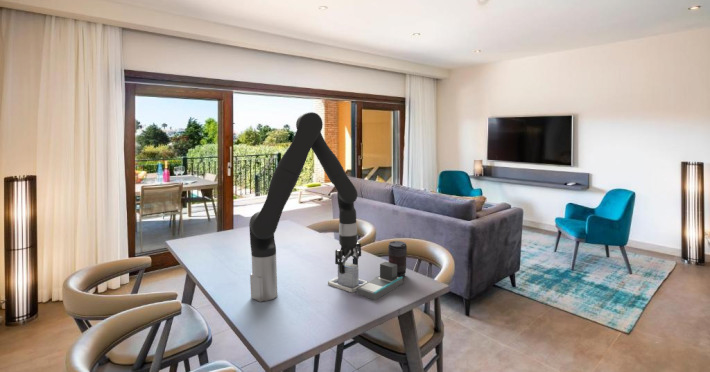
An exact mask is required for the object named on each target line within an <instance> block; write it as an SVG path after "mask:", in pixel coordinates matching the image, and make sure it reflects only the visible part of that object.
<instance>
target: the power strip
mask: <svg viewBox="0 0 710 372" xmlns="http://www.w3.org/2000/svg"><path fill="white" fill-rule="evenodd" d="M403 279H404V277H402V276H401V277H397V264H393V263H389V261H384V262H381V263H380V264H379V275H378V276H377V277H374V278H373V279H371V280H369V281H368V282H367V283H365V284H363V283H362V284H363V285H361V284H360V285H361V286H359V285H358V286H359V287H357V286H356V287H357V291H356V294H357V295H359V296H362V297H365V298H368V299H371V300H374V301H376V300H378V299H379V298H381V297H382V296H385V295H386V294H387V293H389V292H391V291H393V290H395V289H396V288H398V287H399V286H401V285H403V283H404V282H403Z"/></svg>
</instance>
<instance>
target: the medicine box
mask: <svg viewBox="0 0 710 372" xmlns="http://www.w3.org/2000/svg"><path fill="white" fill-rule="evenodd" d="M344 265H345V273H344V274H341V273H340V272H339V265H338V264H337V277H338V281H337V284H340V285H342V286H345V287H348V288H351V289H353V288H355V287H357V286H359V285H360V284H359V279H360V278H359V264H358V265H355V264H353V263H351V262H350V263H349V262H345V264H344Z"/></svg>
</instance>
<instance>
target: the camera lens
mask: <svg viewBox="0 0 710 372" xmlns="http://www.w3.org/2000/svg"><path fill="white" fill-rule="evenodd" d="M407 248H408V246H407V242H405V241H401V240H393V241H390V242H389V243H388V249H387V251H388V262H389V263H393V264H397V277H401V276H402V277H403V278H404V277H405V275H406V273H407V272H406V271H407V253H408V252H407V250H408V249H407Z"/></svg>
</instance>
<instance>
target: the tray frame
mask: <svg viewBox="0 0 710 372" xmlns="http://www.w3.org/2000/svg"><path fill="white" fill-rule="evenodd" d="M367 282H369V281H367V280H364V279H362V278H361V279H360V278H359V283H360V284H358V285H357V286H355V287H354V288H352V287H348V286H344V285H340V284H338V276H337V277H334V278H332V279H330V280H328V281H327V285H329V286H332V287H333V288H338V289H339V290H343V291H346V292H349V293H352V294H354V293H355V292H357V287H359V286H361V285H363V284H365V283H367Z"/></svg>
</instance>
